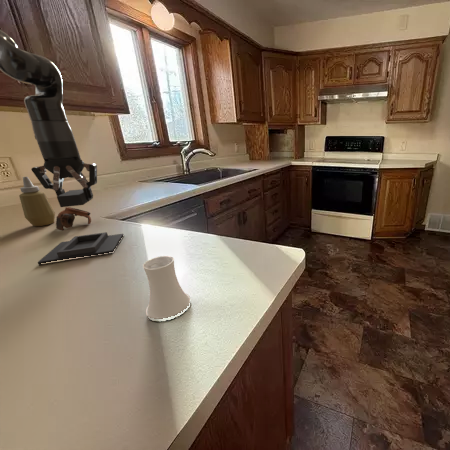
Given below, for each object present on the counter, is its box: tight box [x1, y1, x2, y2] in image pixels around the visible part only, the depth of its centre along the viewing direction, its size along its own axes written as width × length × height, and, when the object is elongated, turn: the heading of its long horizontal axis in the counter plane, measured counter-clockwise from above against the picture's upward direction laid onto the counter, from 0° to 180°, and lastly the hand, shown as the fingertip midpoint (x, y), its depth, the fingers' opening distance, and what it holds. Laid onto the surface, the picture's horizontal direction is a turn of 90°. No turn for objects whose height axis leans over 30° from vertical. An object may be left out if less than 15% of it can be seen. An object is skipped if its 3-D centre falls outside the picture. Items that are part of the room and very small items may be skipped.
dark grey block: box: [56, 188, 89, 208], centre depth 71 cm, size 5×9×3 cm, turn 25°
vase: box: [142, 255, 191, 319], centre depth 45 cm, size 8×8×10 cm
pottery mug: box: [55, 206, 92, 231], centre depth 89 cm, size 12×10×8 cm
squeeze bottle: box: [18, 176, 56, 227], centre depth 90 cm, size 8×8×18 cm
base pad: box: [37, 231, 124, 264], centre depth 72 cm, size 16×14×2 cm
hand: (77, 201), depth 71 cm, fingers closed on dark grey block, 5 cm apart
